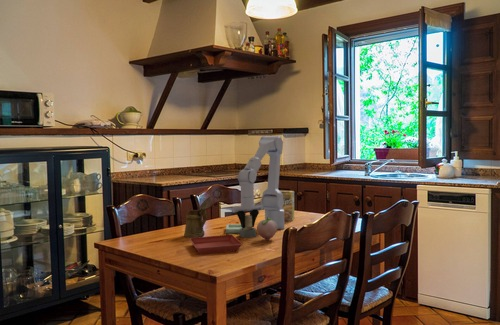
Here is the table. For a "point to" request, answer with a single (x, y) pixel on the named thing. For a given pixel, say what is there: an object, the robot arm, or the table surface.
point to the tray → (233, 228)
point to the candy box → (288, 205)
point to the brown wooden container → (196, 221)
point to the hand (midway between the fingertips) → (247, 227)
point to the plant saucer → (216, 244)
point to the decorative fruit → (267, 228)
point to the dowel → (248, 222)
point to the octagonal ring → (247, 233)
